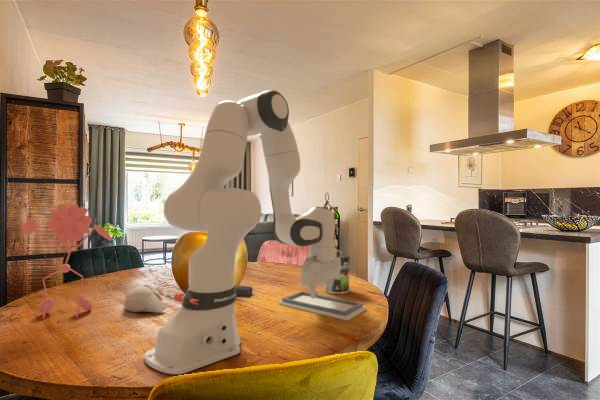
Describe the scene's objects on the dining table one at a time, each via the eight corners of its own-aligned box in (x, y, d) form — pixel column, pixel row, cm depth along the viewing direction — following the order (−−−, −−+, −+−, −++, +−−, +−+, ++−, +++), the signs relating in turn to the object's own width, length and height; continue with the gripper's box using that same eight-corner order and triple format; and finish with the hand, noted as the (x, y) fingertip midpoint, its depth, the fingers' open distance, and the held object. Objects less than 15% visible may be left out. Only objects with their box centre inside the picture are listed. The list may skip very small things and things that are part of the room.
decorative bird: (139, 304, 116) (141, 282, 116) (169, 313, 107) (171, 289, 108) (114, 309, 108) (116, 285, 109) (144, 319, 100) (146, 293, 100)
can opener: (206, 290, 133) (200, 293, 128) (208, 274, 133) (202, 277, 128) (252, 297, 129) (248, 300, 124) (254, 280, 129) (249, 284, 124)
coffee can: (354, 291, 134) (354, 255, 134) (337, 295, 127) (337, 258, 127) (335, 286, 142) (335, 252, 142) (318, 290, 135) (318, 255, 135)
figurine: (105, 318, 102) (106, 203, 102) (9, 323, 97) (9, 203, 97) (122, 303, 117) (123, 203, 117) (39, 307, 112) (40, 203, 112)
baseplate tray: (347, 320, 101) (347, 314, 101) (278, 304, 116) (278, 298, 116) (366, 309, 111) (366, 303, 111) (300, 295, 127) (300, 290, 127)
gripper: (312, 259, 103) (312, 303, 103) (343, 251, 120) (343, 289, 120) (296, 257, 107) (295, 300, 107) (328, 249, 124) (328, 287, 124)
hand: (321, 294), depth 114 cm, fingers open, 8 cm apart
